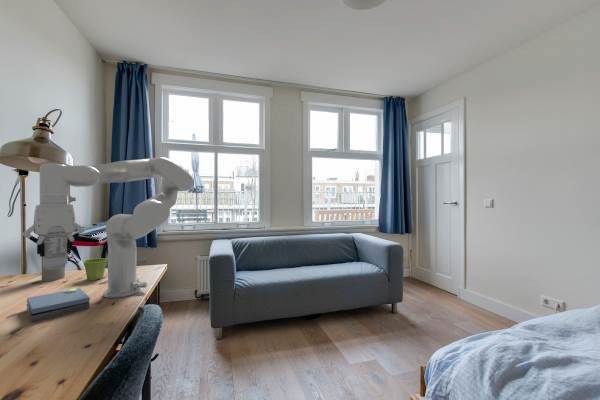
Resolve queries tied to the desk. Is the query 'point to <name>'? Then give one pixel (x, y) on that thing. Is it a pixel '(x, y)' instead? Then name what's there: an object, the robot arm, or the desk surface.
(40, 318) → the tribrach base
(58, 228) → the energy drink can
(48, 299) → the plate
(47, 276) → the thermos bottle
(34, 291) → the desk surface
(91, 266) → the plant pot
